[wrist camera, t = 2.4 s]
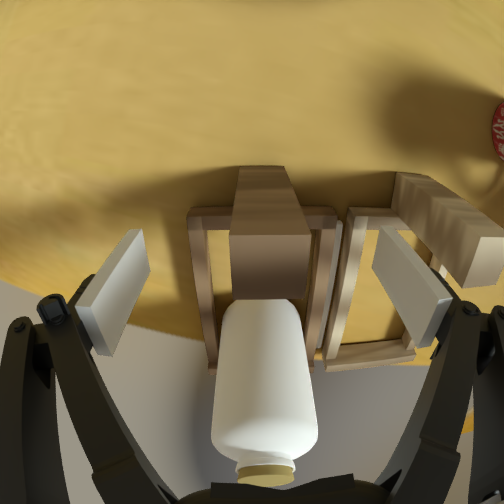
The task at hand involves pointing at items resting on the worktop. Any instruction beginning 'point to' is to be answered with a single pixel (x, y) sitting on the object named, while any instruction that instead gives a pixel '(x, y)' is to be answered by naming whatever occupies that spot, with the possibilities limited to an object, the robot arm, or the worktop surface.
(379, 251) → the robot arm
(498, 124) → the mug
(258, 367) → the potion bottle
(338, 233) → the lane divider
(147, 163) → the worktop surface
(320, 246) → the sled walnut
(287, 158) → the worktop surface
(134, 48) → the worktop surface
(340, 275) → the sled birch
